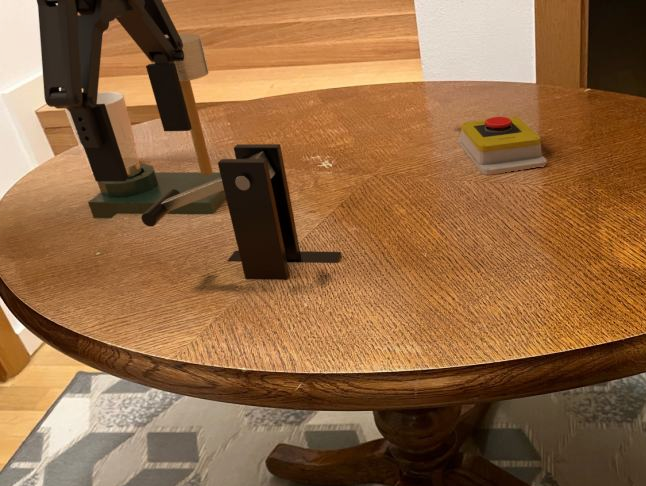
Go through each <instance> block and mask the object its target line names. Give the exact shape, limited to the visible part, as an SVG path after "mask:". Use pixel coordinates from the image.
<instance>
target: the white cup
mask: <svg viewBox="0 0 646 486" xmlns="http://www.w3.org/2000/svg"><path fill="white" fill-rule="evenodd" d="M97 104H105V106H106V109H107V112H108V116H109V119H110V122H111V125H112V128H113V131H114V134H115V137H116V140H117V144H118V147H119V150H120V153H121V156H122V158H136V159H138V160H139V156H138V153H137V147H136V141H135V136H134V135H135V134H134V132H133V127H132V124H131V123H132V122H131V118H130V114H129V112H128V108H127V103H126V99H125V95H124V94H123V93H122V92H119V91H118V92H117V91H98V94H97ZM63 110H64V111H65V113H66V117H67V119H68V122H69V125H70V127H71V129H72V131H73V134H74V137H75V139H76V141H77V143H78V146H79V149H80V150H81V153H82V155H83V157H84V158H85V161H86V163H87V166H88V168H89V171H90V174H91V175H93V172H92V169H91V166H90V164H89V161H88V158H87V155H86V152H85V149H84V147H83V145H82V144H81V142H80V139H79V135H78V134H77V130H76V128H75V125H74V122H73V119H72V116H71V114H70V112H69V110H68V109H66V108H64V109H63Z"/></svg>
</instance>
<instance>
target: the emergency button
mask: <svg viewBox="0 0 646 486" xmlns="http://www.w3.org/2000/svg"><path fill="white" fill-rule="evenodd" d="M457 142H458V145H459V146H460V147H461V148H462V150H463V151H464V152H465V154H466V155H467V156H468V157H469V159H470V160H471V161H472V163H473V164H474V165H475V167H476V168H477V169H478V170H479V171H480V173H481V174H483V175H486V176H490V175H491V176H492V175H499V174H506V173H505V172H507V173H512V172H511V171H514V172H519V171H518V170H521V171H524V170H523V169H528V168H533V167H540V166H545V165H546V164H547V165H548V159H546V157H545V156H544V155H543V154H542V138H541V136H540V135H539V134H538V133H537V132H536V131H535V130H533V128H532V127H530V126H529V125H528V124H527V123H526V122H525V121H523V119H521V118H520V117H519V116H514V115H513V116H494V117H489V118H487V119H480V120H479V119H478V120H472V121H471V120H470V121H465V122H464V121H463V122H462V123H461V125H460V136H458V141H457Z"/></svg>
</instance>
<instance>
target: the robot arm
mask: <svg viewBox="0 0 646 486" xmlns="http://www.w3.org/2000/svg"><path fill="white" fill-rule="evenodd" d="M36 4H37V12H38V26H39V40H40V41H39V42H40V53H41V68H42V81H43V94H44V95H43V97H44V101H45V103H46V105H47V106H48V107H50V108H55V109H57V110H58V109H59V110H60V109H63V110H65V109H64V108H66V109H68V110H69V112H70V114H71V116H72V119H73V122H74V125H75V128H76V130H77V134H78V135H79V139H80V142H81V144H82V145H83V147H84V149H85V152H86V155H87V158H88V161H89V164H90V166H91V169H92V172H93V174H92V176H93V178H94V181H95V182H97V183H98V182H99V181H126V180H127V179H128V175H127V172H126V168H125V165H124V162H123V159H122V156H121V153H120V150H119V147H118V144H117V140H116V137H115V134H114V131H113V128H112V125H111V122H110V119H109V116H108V112H107V109H106V106H105V104H97V94H98V92H99V82H100V71H101V57H102V47H103V36H104V35H103V34H104V32H106V31H108V29H109V27H110V22H113V21H115V20H117V22H118V23H119V24H120V25H121V27H122V28H123V29H124V31H125V32H126V33H127V34H128V36H129V37H130V38H131V39H132V40H133V42H134V43H135V44H136V45H137V46H138V47H139V49H140V50H141V51H142V53H143V54H144V55H145V56H146V58H147V59H148V61H150V63H148V64H146V65H145V68H146V72H147V75H148V79H149V82H150V86H151V89H152V94H153V97H154V100H155V103H156V107H157V110H158V114H159V118H160V122H161V125H162V128H163V132H190V130H191V129H192V127H191V123H190V119H189V115H188V111H187V108H186V104H185V100H184V96H183V92H182V88H181V84H180V81H179V77H178V73H177V69H176V65H175V63H174V61H183V60H184V52H183V50H182V49H183V43H182V40H181V38H180V36H179V34H180V33H179V32H178V30H177V28H176V26H175V24H174V22H173V20H172V18H171V16H170V14H169V12H168V10H167V8H166V6H165V4H164V2H163V0H36ZM166 35H168V37H169V38H166V37H165V36H166ZM151 62H155V64H152V63H151Z"/></svg>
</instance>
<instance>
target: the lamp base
mask: <svg viewBox="0 0 646 486" xmlns="http://www.w3.org/2000/svg"><path fill="white" fill-rule="evenodd" d="M140 166H141V170H142V174H141V175H139V176H136V177H134V178H131V179H127V180H126V181H99V182H97V185H98V188H99V191H100V192H99V193H98V194H97V195H96V196H94V197H93V198H91V199H90V200H88V202H87V204H88V206H89V209H90V212H91V215H92V216H93V217H92V218H93V219H113V217H115V216H116V215H119V214H121V215H123V214H124V215H126V214H127V215H143V214H144V213H145V212H146V211H147V210H148V209H149V208H150V207H152V206H153V205H154V204H155V203H156V202H157V201H158V200H159V199H160V198H162V197H163V196H164V195H165V194H166V193H167V192H168V191H169V190H171V189H175V190H178V191H179V192H180V193H183V192H185V191H188V190H190V189H193V188H195V187H198V186H200V185H203V184H205V183H208V182H210V181H213V180H216V179H218V178H221V175H220V171H219V172H213V171H212V174H209V175H202V174H201V171H200V172H197V171H195V172H194V171H192V172H190V171H187V172H182V171H181V172H180V171H179V172H174V171H173V172H170V171H169V172H167V171H166V172H165V171H163V172H159V171H158V172H157V171H155V169H154V168H155V167H154V166H153V165H149V164H147V163H140ZM225 202H227V200H226V196H225V191H224V190H222V191H220V192H217V193H215V194H212V195H210V196H207V197H205V198H202V199H199V200H197V201H194V202H192V203H189V204H187V205H184V206H182V207H179V208H176V209H174V210H171V211H169V212H168V213H167V214H166V215H214V213H216V212H217V211H218V209H220V207H221V206H222V205H223V204H224V203H225Z"/></svg>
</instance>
